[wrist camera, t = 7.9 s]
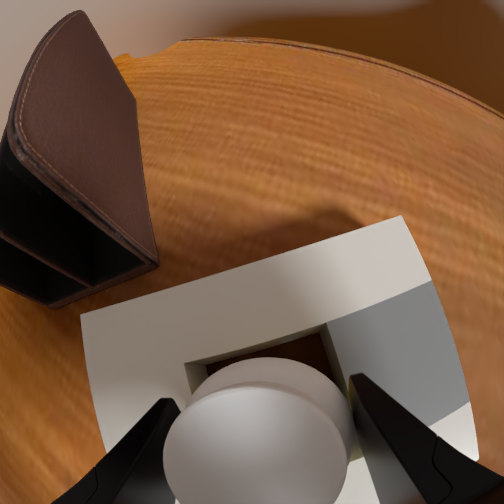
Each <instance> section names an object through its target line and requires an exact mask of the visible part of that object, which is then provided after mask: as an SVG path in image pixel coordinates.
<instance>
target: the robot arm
mask: <svg viewBox="0 0 504 504" xmlns="http://www.w3.org/2000/svg"><path fill="white" fill-rule="evenodd" d="M348 395H349V401H350V405H351V410H352V414H353V418H354V423H355V428H356V433H357V437H358V441H359V444H360V447H361V450H362V452H363V455H364V458H365V461H366V464H367V467H368V470H369V473H370V476H371V479H372V482H373V484H374V487H375V490H376V494H377V497H378V500H379V503H380V504H504V477H503V476H501V475H499V474H497V473H495V472H493V471H491V470H490V469H488V468H486V467H484V466H483V465H481V464H479V463H477V462H476V461H474V460H472V459H470V458H469V457H467V456H466V455H464V454H462V453H461V452H459V451H458V450H457V449H455V448H454V447H453V446H451V445H450V444H449V443H447V442H446V441H445V440H443V439H442V438H441V437H440V436H437V434H436V433H435V432H434V431H432V430H431V429H430V428H429V427H427V426H426V425H425V424H424V423H423V422H421V421H420V420H419V419H418V418H417V417H415V416H414V415H413V414H412V413H410V412H409V411H408V410H407V409H406V408H404V407H403V406H402V405H401V404H400V403H398V402H397V401H396V400H395V399H394V398H392V397H391V396H390V395H389V394H388V393H387V392H385V391H384V390H383V389H382V388H381V387H379V386H378V385H377V384H376V383H375V382H373V381H372V380H371V379H370V378H369V377H368V376H366V375H365V374H364V373H362V372H360V373H356V374H351V375H350V376H349V386H348ZM180 413H181V411H180V409H179V407H178V406H177V404H176V402H175V400H174V399H173V398H160V399H159V400H158V401H157V402H156V403H155V404H154V405H153V406H152V407H151V408H150V409H149V410H148V411H147V412H146V413H145V414H144V416H143V417H142V418H141V419H140V420H139V421H138V422H137V423H136V424H135V425H134V426H133V427H132V428H131V429H130V430H129V431H128V432H127V433H126V435H125V436H124V437H123V438H122V439H121V440H120V441H119V442H118V443H117V444H116V445H115V446H114V447H113V448H112V449H111V450H110V451H109V452H108V453H107V454H106V455H105V456H104V457H103V458H102V459H101V460H100V461H99V462H98V463H97V464H96V466H95V467H93V468H92V469H91V470H90V471H89V472H88V473H87V474H86V475H85V476H84V477H83V478H82V479H81V480H80V481H79V482H78V483H76V484H75V485H74V486H73V487H72V488H70V489H69V490H68V491H67V492H65V493H64V494H63V495H61V496H60V497H59V498H57V499H56V500H55V501H53V502H52V503H51V504H175V501H176V497H175V496H174V494H173V492H172V490H171V489H170V487H169V484H168V482H167V479H166V476H165V472H164V466H163V450H164V445H165V441H166V438H167V435H168V432H169V430H170V428H171V426H172V424H173V423H174V421H175V419H176V418H177V417H178V416H179V415H180Z"/></svg>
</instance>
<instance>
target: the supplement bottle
mask: <svg viewBox="0 0 504 504" xmlns="http://www.w3.org/2000/svg"><path fill="white" fill-rule="evenodd" d="M354 446H355V423H354V418H353V414H352V411H351V409H350V406H349V404H348V402H347V400H346V399H345V397H344V395H343V394H342V392H341V391H340V390H339V388H338V387H337V386H336V385H335V384H334V383H333V382H332V381H331V380H330V379H329V378H328V377H326V376H325V375H324V374H322V373H321V372H319V371H318V370H316V369H314V368H312V367H310V366H308V365H306V364H303V363H300V362H298V361H294V360H290V359H284V358H272V357H264V358H253V359H248V360H243V361H239V362H236V363H233V364H231V365H229V366H226V367H224V368H222V369H221V370H219V371H217V372H215V373H214V374H212V375H211V376H210V377H209V378H207V379H206V380H205V381H204V382H203V383H202V384H201V385H200V386H199V387H198V389H197V390H196V391H195V392H194V393H193V395H192V396H191V398H190V400H189V402H188V404H187V406H186V408H185V409H184V410H183V411H182V412H181V413H180V415H179V416H178V417H177V418H176V419H175V421H174V423H173V424H172V426H171V428H170V430H169V432H168V435H167V438H166V441H165V445H164V450H163V466H164V472H165V476H166V479H167V482H168V484H169V487H170V489H171V490H172V492H173V494H174V496H175V497H176V499H177V500H178V501H179V503H180V504H334V502H335V501H336V499H337V498H338V496H339V494H340V492H341V490H342V488H343V485H344V482H345V479H346V474H347V467H348V465H349V463H350V461H351V458H352V455H353V451H354Z"/></svg>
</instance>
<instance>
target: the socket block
mask: <svg viewBox="0 0 504 504" xmlns="http://www.w3.org/2000/svg"><path fill="white" fill-rule="evenodd" d="M80 317H81V328H82V337H83V345H84V353H85V359H86V366H87V372H88V378H89V383H90V389H91V394H92V398H93V403H94V407H95V412H96V416H97V420H98V424H99V428H100V432H101V435H102V439H103V442H104V446H105V449H106V453H108V452H109V451H110V450H111V449H112V448H113V447H114V446H115V445H116V444H117V443H118V442H119V441H120V440H121V439H122V438H123V437H124V436H125V435H126V433H127V432H128V431H129V430H130V429H131V428H132V427H133V426H134V425H135V424H136V423H137V422H138V421H139V420H140V419H141V418H142V417H143V416H144V414H145V413H146V412H147V411H148V410H149V409H150V408H151V407H152V406H153V405H154V404H155V403H156V402H157V401H158V400H159V399H160V398H173V399H174V400H175V402H176V404H177V406H178V407H179V409H180V411H181V412H182V411H183V410H184V409H185V408H186V406H187V404H188V402H189V400H190V398H191V396H192V395H193V393H194V392H195V391H196V390H197V389H198V387H199V386H200V385H201V384H202V383H203V382H204V381H205V380H206V379H207V378H209V376H208V372H207V368H206V364H210V363H214V362H218V361H222V360H226V359H230V358H234V357H238V356H242V355H245V354H249V353H252V352H256V351H260V350H263V349H266V348H270V347H273V346H277V345H280V344H283V343H286V342H290V341H293V340H296V339H299V338H302V337H305V336H308V335H311V334H314V333H317V332H319V333H320V336H321V339H322V342H323V345H324V348H325V351H326V354H327V357H328V360H329V364H330V367H331V370H332V373H333V376H334V380H335V383H336V386H337V387H338V388H339V390H340V391H341V392H342V394H343V395H344V397H345V399H346V400H347V402H348V404H349V406H350V409H351V405H350V401H349V395H348V386H349V376H350V375H351V374H356V373H360V372H362V373H364V374H365V375H366V376H368V377H369V378H370V379H371V380H372V381H373V382H375V383H376V384H377V385H378V386H379V387H381V388H382V389H383V390H384V391H385V392H387V393H388V394H389V395H390V396H391V397H392V398H394V399H395V400H396V401H397V402H398V403H400V404H401V405H402V406H403V407H404V408H406V409H407V410H408V411H409V412H410V413H412V414H413V415H414V416H415V417H417V418H418V419H419V420H420V421H421V422H423V423H424V424H425V425H426V426H427V427H429V428H430V429H431V430H432V431H434V432H435V433H436V434H437V436H440V437H441V438H442V439H443V440H445V441H446V442H447V443H449V444H450V445H451V446H453V447H454V448H455V449H457V450H458V451H459V452H461V453H462V454H464V455H466V456H467V457H469V458H470V459H472V460H474V461H477V460H478V459H479V454H478V446H477V438H476V432H475V426H474V420H473V414H472V409H471V404H470V399H469V395H468V391H467V386H466V382H465V378H464V374H463V370H462V367H461V363H460V359H459V356H458V353H457V349H456V346H455V343H454V340H453V336H452V333H451V330H450V327H449V324H448V321H447V319H446V316H445V313H444V310H443V308H442V305H441V302H440V300H439V297H438V294H437V292H436V289H435V287H434V284H433V282H432V280H431V277H430V275H429V272H428V270H427V268H426V266H425V263H424V261H423V259H422V257H421V254H420V252H419V250H418V248H417V246H416V244H415V242H414V240H413V238H412V235H411V233H410V231H409V229H408V227H407V225H406V224H405V222H404V220H403V218H402V216H401V215H400V216H397V217H394V218H391V219H388V220H385V221H382V222H379V223H376V224H373V225H370V226H366V227H363V228H360V229H357V230H354V231H351V232H348V233H345V234H342V235H338V236H335V237H332V238H329V239H326V240H323V241H320V242H316V243H313V244H310V245H307V246H304V247H301V248H297V249H294V250H291V251H288V252H285V253H282V254H278V255H275V256H272V257H269V258H266V259H262V260H259V261H256V262H253V263H250V264H246V265H243V266H240V267H237V268H233V269H230V270H227V271H224V272H220V273H217V274H214V275H211V276H207V277H204V278H201V279H198V280H194V281H191V282H188V283H184V284H181V285H178V286H175V287H171V288H168V289H165V290H161V291H158V292H155V293H151V294H148V295H145V296H141V297H138V298H135V299H131V300H128V301H125V302H121V303H118V304H114V305H111V306H108V307H104V308H101V309H98V310H94V311H91V312H87V313H84V314H80ZM351 411H352V410H351ZM175 504H180V503H179V501H178V500H177V499H176V501H175ZM334 504H380V503H379V500H378V497H377V494H376V490H375V487H374V484H373V482H372V479H371V476H370V473H369V470H368V467H367V464H366V461H365V458H364V455H363V452H362V450H361V447H360V444H359V441H358V437H357V433H356V428H355V446H354V451H353V455H352V458H351V461H350V463H349V465H348V467H347V474H346V479H345V482H344V485H343V488H342V490H341V492H340V494H339V496H338V498H337V499H336V501H335V502H334Z"/></svg>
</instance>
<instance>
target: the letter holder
mask: <svg viewBox="0 0 504 504" xmlns="http://www.w3.org/2000/svg"><path fill="white" fill-rule="evenodd" d="M159 265H160V262H159V257H158V253H157V248H156V244H155V240H154V234H153V230H152V225H151V219H150V214H149V208H148V202H147V195H146V188H145V180H144V173H143V165H142V157H141V148H140V140H139V131H138V120H137V107H136V99H135V98H134V96H133V94H132V93H131V91H130V90H129V88H128V86H127V84H126V83H125V81H124V79H123V77H122V76H121V74H120V72H119V70H118V68H117V67H116V65H115V63H114V62H113V60H112V58H111V56H110V55H109V53H108V51H107V49H106V47H105V46H104V44H103V42H102V40H101V39H100V37H99V35H98V34H97V32H96V30H95V28H94V27H93V25H92V23H91V22H90V20H89V18H88V16H87V15H86V13H85V12H83V11H82V10H77V11H74V12H72V13H70V14H68V15H66V16H65V17H63V18H62V19H61V20H60V21H59V22H57V23H56V24H55V25H54V26H53V27H52V28H51V29H50V30H49V31H48V32H47V33H46V34H45V36H44V37H43V38H42V39H41V41H40V42H39V44H38V45H37V47H36V49H35V50H34V52H33V54H32V56H31V58H30V60H29V62H28V64H27V65H26V67H25V70H24V72H23V75H22V77H21V80H20V83H19V85H18V87H17V90H16V92H15V95H14V99H13V102H12V105H11V108H10V112H9V116H8V121H7V124H6V127H5V130H4V133H3V136H2V139H1V142H0V286H2V287H4V288H7V289H8V290H10V291H13V292H15V293H17V294H19V295H21V296H24V297H26V298H28V299H30V300H33V301H35V302H37V303H40V304H42V305H45V306H47V307H48V308H50V309H57V308H59V307H62V306H64V305H67V304H69V303H72V302H74V301H76V300H79V299H81V298H84V297H86V296H89V295H91V294H94V293H96V292H99V291H101V290H103V289H106V288H109V287H111V286H114V285H116V284H119V283H121V282H124V281H127V280H129V279H132V278H134V277H136V276H139V275H141V274H144V273H146V272H149V271H151V270H153V269H155V268H157V267H158V266H159Z"/></svg>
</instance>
